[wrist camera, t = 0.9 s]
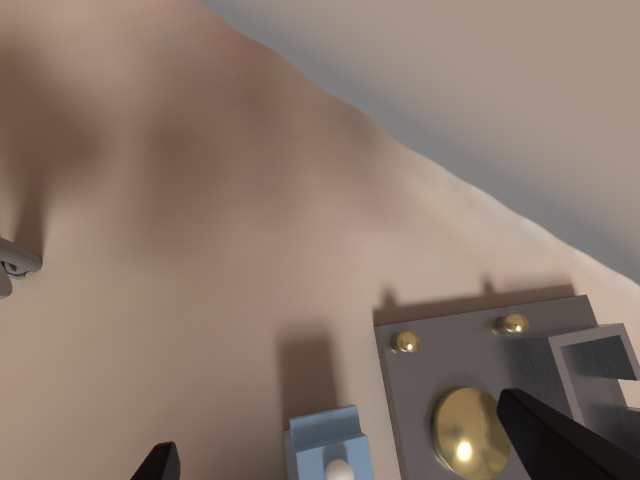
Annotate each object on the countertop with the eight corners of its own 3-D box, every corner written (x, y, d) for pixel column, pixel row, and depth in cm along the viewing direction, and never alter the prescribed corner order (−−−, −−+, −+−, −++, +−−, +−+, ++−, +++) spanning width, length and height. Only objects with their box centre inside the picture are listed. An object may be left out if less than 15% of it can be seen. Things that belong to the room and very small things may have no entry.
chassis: (644, 494, 24) (703, 514, 21) (420, 582, 19) (456, 626, 16) (575, 296, 27) (616, 290, 24) (373, 326, 22) (395, 323, 20)
